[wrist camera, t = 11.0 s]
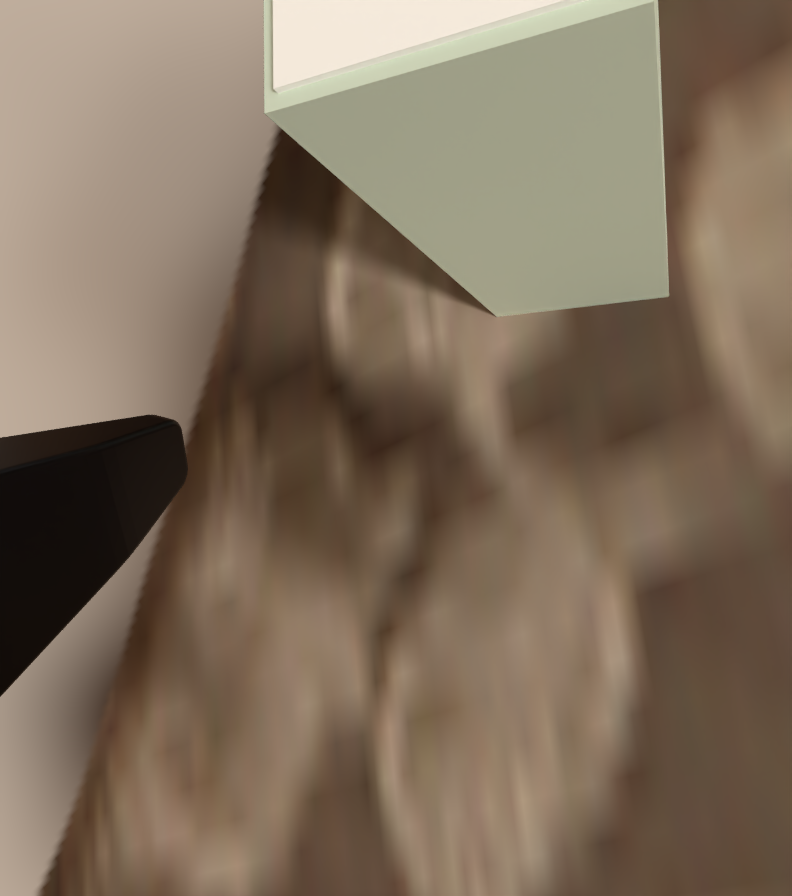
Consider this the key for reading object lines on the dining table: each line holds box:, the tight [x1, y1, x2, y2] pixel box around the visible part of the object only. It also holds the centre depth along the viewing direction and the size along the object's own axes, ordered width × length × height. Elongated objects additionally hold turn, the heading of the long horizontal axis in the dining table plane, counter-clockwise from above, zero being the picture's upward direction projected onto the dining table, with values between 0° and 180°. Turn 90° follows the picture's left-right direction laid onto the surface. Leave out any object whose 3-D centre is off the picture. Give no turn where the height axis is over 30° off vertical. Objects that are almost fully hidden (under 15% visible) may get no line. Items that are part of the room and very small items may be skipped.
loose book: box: [264, 0, 669, 317], centre depth 12 cm, size 4×7×11 cm, turn 1°
